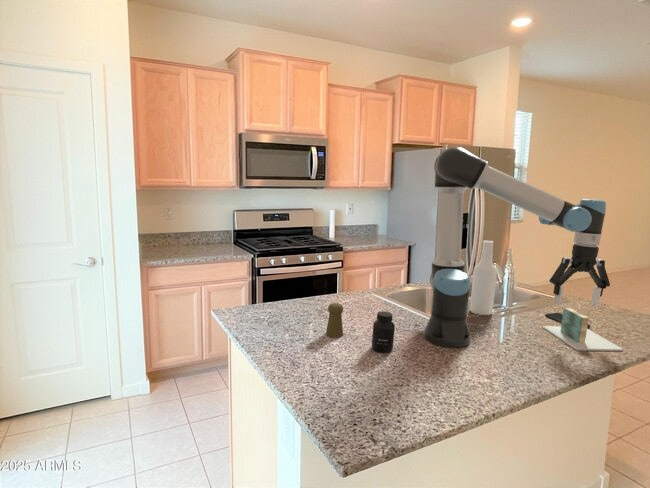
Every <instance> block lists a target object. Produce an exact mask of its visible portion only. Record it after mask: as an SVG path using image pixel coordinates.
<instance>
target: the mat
mask: <svg viewBox="0 0 650 488" xmlns="http://www.w3.org/2000/svg"><path fill="white" fill-rule="evenodd" d="M542 328H543V329H544V330H545V331H547V332H548V333H550V334H551V335H553V336H555V338H557V339H559V340H560V341H562V342H563V343H565V344H566V345H568V346H569V347H571V348H572V349H574V350H575V351H586V352H587V350H588V351H589V352H590V351H595V352H597V351H598V352H599V351H601V352H603V351H604V352H607V351H608V352H611V351H612V352H623V351H624V348H622V347H621V346H618V345H617V344H615V343H613V342H611V341H610V340H608V339H606V338H604V337H602V336H601V335H599V334H597V333H596V332H595V331H592V330H590V328H587V332H586V339H585V343H578V342H576V341H575V340H573V339H572V338H570V337H568V336H567V335H565V334H564V333H562V332H561V325H560V326H559V325H556V326H555V325H554V326H553V325H551V326H550V325H543V326H542Z"/></svg>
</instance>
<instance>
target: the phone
mask: <svg viewBox="0 0 650 488" xmlns="http://www.w3.org/2000/svg"><path fill="white" fill-rule="evenodd" d="M544 316H545V318H548V319H550V320H553V321H555V322H558V323H560V324H562V317H563V313H561V312H553V313H552V312H551V313H545V315H544ZM590 328H591V325H590V324H589V323H588V326H587V329H590Z"/></svg>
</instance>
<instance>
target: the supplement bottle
mask: <svg viewBox="0 0 650 488" xmlns="http://www.w3.org/2000/svg"><path fill="white" fill-rule="evenodd" d="M395 329H396V325H395V322H393V313H391V312H389V311H385V310H383V311H378V312H377V313H376V320H374V321H373V324H372V335H371V337H372V338H371V349H372V350H373V351H374V352H375V353H379V354H390V353H392V352H393V350H394V342H395V339H394V338H395Z"/></svg>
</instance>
